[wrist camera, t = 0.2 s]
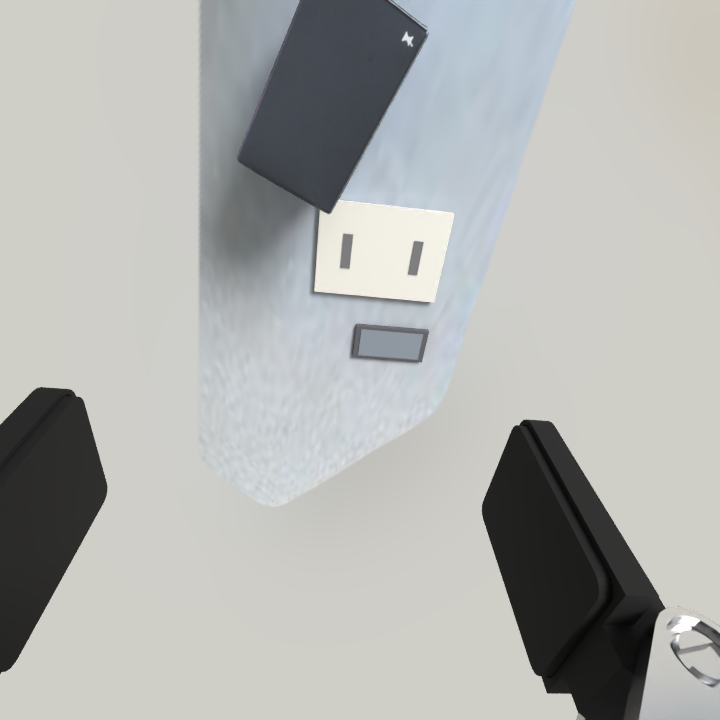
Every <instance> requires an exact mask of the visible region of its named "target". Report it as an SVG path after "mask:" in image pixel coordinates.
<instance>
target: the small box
mask: <svg viewBox="0 0 720 720" xmlns="http://www.w3.org/2000/svg"><path fill="white" fill-rule="evenodd" d="M428 34H429V33H428V28H427V27H426V26H425V25H423V24H422V23H420V22H419V21H418V20H416V19H415V18H414V17H412V16H411V15H410V14H409V13H407V12H406V11H405V10H404V9H402V8H401V7H400V6H398V5H397V4H396V3H395V2H394V1H392V0H300V2H299V5H298V7H297V10H296V12H295V14H294V17H293V19H292V22H291V24H290V27H289V29H288V32H287V34H286V37H285V39H284V42H283V44H282V47H281V49H280V51H279V54H278V56H277V59H276V61H275V64H274V66H273V69H272V71H271V74H270V76H269V79H268V81H267V84H266V86H265V89H264V91H263V94H262V96H261V99H260V101H259V104H258V106H257V108H256V111H255V113H254V116H253V118H252V121H251V123H250V126H249V128H248V131H247V133H246V136H245V138H244V141H243V143H242V146H241V148H240V151H239V153H238V156H237V160H238V162H240V163H241V164H243V165H244V166H246V167H247V168H249V169H251V170H252V171H254V172H255V173H257V174H259V175H261V176H262V177H264V178H266V179H268V180H269V181H271V182H273V183H274V184H276V185H278V186H279V187H281V188H283V189H285V190H286V191H288V192H290V193H292V194H293V195H295V196H297V197H298V198H300V199H302V200H304V201H306V202H307V203H309V204H311V205H313V206H314V207H316V208H318V209H320V210H321V211H323V212H325V213H327V214H331V213H332V211H333V209H334V207H335V205H336V203H337V202H338V200H339V198H340V196H341V194H342V193H343V191H344V189H345V187H346V185H347V184H348V182H349V180H350V178H351V176H352V174H353V172H354V171H355V169H356V167H357V165H358V163H359V162H360V160H361V158H362V156H363V154H364V152H365V151H366V149H367V147H368V145H369V144H370V142H371V140H372V138H373V136H374V134H375V132H376V131H377V129H378V127H379V125H380V123H381V122H382V120H383V118H384V116H385V114H386V112H387V110H388V108H389V106H390V105H391V103H392V101H393V100H394V98H395V96H396V94H397V92H398V90H399V89H400V87H401V85H402V83H403V81H404V79H405V78H406V76H407V74H408V72H409V70H410V68H411V66H412V65H413V63H414V61H415V59H416V57H417V55H418V54H419V52H420V50H421V48H422V46H423V44H424V43H425V41H426V39H427V37H428Z"/></svg>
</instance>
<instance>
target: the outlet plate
mask: <svg viewBox="0 0 720 720" xmlns="http://www.w3.org/2000/svg"><path fill="white" fill-rule="evenodd" d="M454 215H455V214H454V213H451V212H442V211H434V210H425V209H416V208H407V207H398V206H389V205H381V204H372V203H363V202H354V201H345V200H338V202H337V203H336V205H335V207H334V209H333V211H332V213H331V214H327V213H325V212H323V211H321V210H320V215H319V230H318V245H317V260H316V275H315V289H314V291H315V292H326V293H337V294H348V295H359V296H369V297H380V298H391V299H402V300H413V301H424V302H434V301H435V297H436V292H437V288H438V284H439V280H440V275H441V271H442V267H443V262H444V258H445V254H446V250H447V245H448V241H449V237H450V233H451V228H452V224H453V220H454Z"/></svg>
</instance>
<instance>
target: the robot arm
mask: <svg viewBox="0 0 720 720" xmlns="http://www.w3.org/2000/svg"><path fill="white" fill-rule="evenodd" d="M106 494H107V482H106V479H105V475H104V472H103V468H102V465H101V461H100V458H99V454H98V450H97V447H96V443H95V440H94V436H93V433H92V429H91V425H90V422H89V418H88V415H87V411H86V408H85V404H84V401H83V399H82V398H80V397H76V395H75V393H74V392H73V391H72V390H70V389H58V388H43V387H40V388H37V389H35V390H34V391H33V392H32V393H31V394H30V395H29V396H28V397H27V398H26V399H25V400H24V401H23V402H22V403H21V404H20V405H19V406H18V407H17V408H16V409H15V410H14V411H13V412H12V414H10V415H9V416H8V417H7V418H6V419H5V421H4V422H3V423H2V424H1V425H0V673H1V672H5V671H7V670H8V669H10V668H11V667H12V666H13V664H14V663H15V662H16V660H17V659H18V657H19V655H20V653H21V651H22V650H23V648H24V646H25V644H26V642H27V640H28V639H29V637H30V635H31V633H32V631H33V629H34V628H35V626H36V624H37V622H38V621H39V619H40V617H41V615H42V613H43V612H44V610H45V608H46V606H47V604H48V602H49V601H50V599H51V597H52V595H53V593H54V591H55V590H56V588H57V586H58V584H59V582H60V581H61V579H62V577H63V575H64V573H65V572H66V570H67V568H68V566H69V564H70V563H71V561H72V559H73V557H74V555H75V553H76V552H77V550H78V548H79V546H80V545H81V543H82V541H83V539H84V537H85V535H86V534H87V532H88V530H89V528H90V526H91V524H92V523H93V521H94V519H95V517H96V516H97V514H98V512H99V510H100V508H101V506H102V504H103V503H104V500H105V498H106ZM482 515H483V520H484V522H485V525H486V529H487V532H488V535H489V538H490V541H491V544H492V547H493V550H494V554H495V556H496V560H497V563H498V566H499V569H500V572H501V575H502V578H503V581H504V584H505V587H506V590H507V594H508V597H509V599H510V603H511V606H512V609H513V612H514V615H515V618H516V621H517V624H518V627H519V630H520V633H521V636H522V640H523V643H524V646H525V649H526V652H527V655H528V658H529V661H530V664H531V667H532V669H533V671H534V672H535V674H536V675H538V676H542V679H543V682H544V685H545V688H546V691H547V693H569V694H572V697H573V699H574V702H575V705H576V708H577V710H578V716H577V720H720V625H718V624H717V623H715V622H714V621H713V620H711V619H710V618H708V617H706V616H704V615H702V614H700V613H698V612H696V611H694V610H691V609H687V608H683V607H668V608H665V607H664V605H663V603H662V602H661V600H660V599H659V595H658V594H657V592H656V590H655V589H654V587H653V586H652V584H651V582H650V581H649V579H648V577H647V576H646V574H645V573H644V571H643V569H642V568H641V566H640V564H639V563H638V561H637V559H636V558H635V556H634V554H633V553H632V551H631V550H630V548H629V546H628V545H627V543H626V541H625V540H624V538H623V537H622V535H621V533H620V532H619V530H618V528H617V527H616V525H615V524H614V522H613V520H612V519H611V517H610V516H609V514H608V512H607V511H606V509H605V508H604V506H603V504H602V502H601V501H600V499H599V498H598V496H597V495H596V493H595V491H594V489H593V488H592V486H591V485H590V483H589V481H588V480H587V478H586V476H585V475H584V473H583V471H582V470H581V468H580V467H579V465H578V463H577V462H576V460H575V459H574V457H573V456H572V454H571V452H570V451H569V449H568V447H567V446H566V444H565V442H564V441H563V439H562V437H561V436H560V434H559V432H558V431H557V429H556V428H555V426H554V425H553V424H552V423H551V422H549V421H538V420H523V421H522V422H521V424H520V425H519V426H514V427H513V429H512V431H511V434H510V436H509V439H508V441H507V444H506V446H505V449H504V451H503V454H502V456H501V459H500V461H499V464H498V466H497V469H496V471H495V474H494V476H493V479H492V481H491V483H490V486H489V488H488V491H487V493H486V496H485V498H484V501H483V504H482Z"/></svg>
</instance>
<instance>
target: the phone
mask: <svg viewBox="0 0 720 720" xmlns="http://www.w3.org/2000/svg"><path fill="white" fill-rule="evenodd" d="M428 333H429V331H428V330H426V329H414V328H402V327H390V326H378V325H366V324H356V331H355V339H354V347H353V357H362V358H374V359H387V360H400V361H413V362H422V359H423V355H424V350H425V346H426V342H427V337H428Z"/></svg>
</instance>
